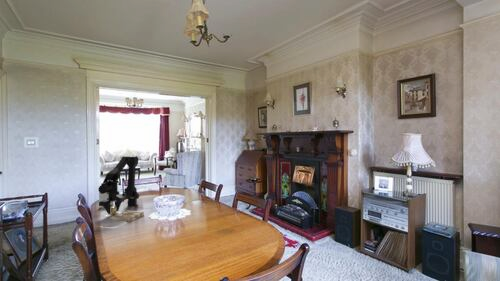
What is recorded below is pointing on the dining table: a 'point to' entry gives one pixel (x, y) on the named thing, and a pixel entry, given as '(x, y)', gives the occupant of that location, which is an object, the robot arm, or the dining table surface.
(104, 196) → the supplement box
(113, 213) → the gold cylinder
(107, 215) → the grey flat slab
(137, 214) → the hole deck
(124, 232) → the dining table surface
